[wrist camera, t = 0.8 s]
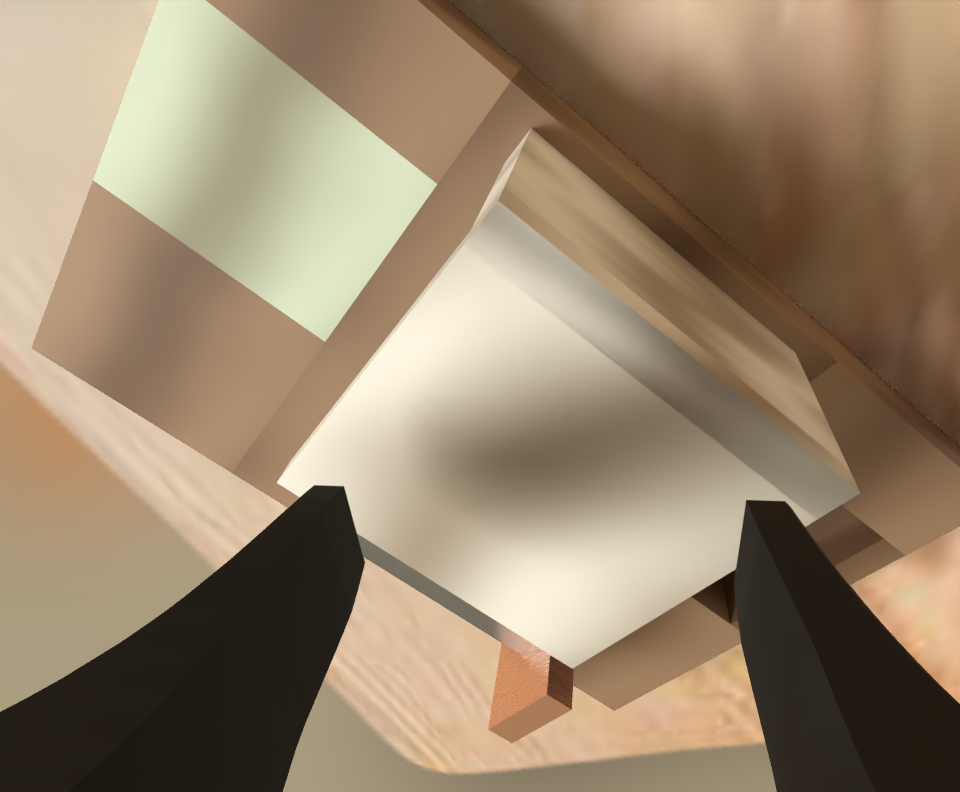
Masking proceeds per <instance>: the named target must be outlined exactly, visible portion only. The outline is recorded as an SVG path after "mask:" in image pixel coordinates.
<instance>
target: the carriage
mask: <svg viewBox="0 0 960 792" xmlns="http://www.w3.org/2000/svg"><path fill="white" fill-rule="evenodd" d="M357 536H358V539H359V543H360V547H361V550H362V554H363V557H365V558H366V559H368V560H369V561H371V562H373V563H374V564H376V565H378V566H379V567H381V568H382V569H384V570H386V571H387V572H389V573H390V574H392V575H394V576H395V577H397V578H398V579H400V580H402V581H403V582H405V583H406V584H408V585H410V586H411V587H413V588H415V589H416V590H418V591H419V592H421V593H423V594H424V595H426V596H427V597H429V598H431V599H432V600H434V601H435V602H437V603H439V604H440V605H442V606H443V607H445V608H447V609H448V610H450V611H452V612H453V613H455V614H456V615H458V616H460V617H461V618H463V619H464V620H466V621H468V622H469V623H471V624H472V625H474V626H476V627H477V628H479V629H481V630H482V631H484V632H485V633H487V634H489V635H490V636H492V637H493V638H495V639H497V640H498V641H500V642H501V643H502V646H501V652H500V658H499V665H498V671H497V677H496V684H495V690H494V696H493V703H492V709H491V715H490V722H489V728H488V729H489V730H490V731H492V732H494V733H495V734H497V735H499V736H501V737H502V738H504V739H506V740H508V741H509V742H511V743H513V742H515V741H517V740H519V739H520V738H522V737H524V736H526V735H527V734H529V733H531V732H533V731H535V730H536V729H538V728H540V727H542V726H543V725H545V724H547V723H549V722H551V721H552V720H554V719H556V718H558V717H559V716H561V715H563V714H565V713H567V712H568V711H570V710H572V693H573V674H574V668H573V669H572V668H570V667H569V666H567V665H565V664H564V663H562V662H561V661H559V660H557V659H556V658H554V657H553V656H551V655H550V654H548V653H546V652H545V651H543V650H542V649H540V648H538V647H537V646H535V645H534V644H532V643H530V642H529V641H527V640H526V639H524V638H523V637H521V636H519V635H518V634H516V633H515V632H513V631H511V630H510V629H508V628H507V627H505V626H503V625H502V624H500V623H499V622H497V621H496V620H494V619H492V618H491V617H489V616H488V615H486V614H484V613H483V612H481V611H480V610H478V609H476V608H475V607H473V606H472V605H470V604H468V603H467V602H465V601H464V600H462V599H461V598H459V597H457V596H456V595H454V594H453V593H451V592H449V591H448V590H446V589H445V588H443V587H441V586H440V585H438V584H437V583H435V582H434V581H432V580H430V579H429V578H427V577H426V576H424V575H422V574H421V573H419V572H418V571H416V570H414V569H413V568H411V567H410V566H408V565H406V564H405V563H403V562H402V561H400V560H399V559H397V558H395V557H394V556H392V555H391V554H389V553H387V552H386V551H384V550H383V549H381V548H379V547H378V546H376V545H375V544H373V543H372V542H370V541H368V540H367V539H365V538H364V537H362V536H360V535H359V534H357Z"/></svg>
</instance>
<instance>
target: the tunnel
mask: <svg viewBox="0 0 960 792" xmlns="http://www.w3.org/2000/svg"><path fill="white" fill-rule="evenodd" d="M32 349H34V350H35V351H37V352H38V353H40V354H42V355H43V356H45V357H46V358H48V359H50V360H51V361H53V362H55V363H56V364H58V365H59V366H61V367H63V368H64V369H66V370H67V371H69V372H71V373H72V374H74V375H75V376H77V377H79V378H80V379H82V380H83V381H85V382H87V383H88V384H90V385H91V386H93V387H95V388H96V389H98V390H100V391H101V392H103V393H104V394H106V395H108V396H109V397H111V398H112V399H114V400H116V401H117V402H119V403H120V404H122V405H124V406H125V407H127V408H128V409H130V410H132V411H133V412H135V413H136V414H138V415H140V416H141V417H143V418H145V419H146V420H148V421H149V422H151V423H153V424H154V425H156V426H157V427H159V428H161V429H162V430H164V431H165V432H167V433H169V434H170V435H172V436H173V437H175V438H177V439H178V440H180V441H181V442H183V443H185V444H186V445H188V446H190V447H191V448H193V449H194V450H196V451H198V452H199V453H201V454H202V455H204V456H206V457H207V458H209V459H210V460H212V461H214V462H215V463H217V464H218V465H220V466H222V467H223V468H225V469H226V470H228V471H230V472H231V473H233V474H235V475H236V476H238V477H239V478H241V479H243V480H244V481H246V482H247V483H249V484H251V485H252V486H254V487H255V488H257V489H259V490H260V491H262V492H263V493H265V494H267V495H268V496H270V497H271V498H273V499H275V500H276V501H278V502H280V503H281V504H283V505H284V506H286V507H288V508H289V507H290V506H291V505H292V504H293V503H294V502H295V501H296V500H298V499H299V498H300V497H301V496H302V495H303V494H304V493H305V492H307V491H308V490H309V489H310V488H311V487H313V486H314V485H325V486H344V488H345V492H346V495H347V499H348V503H349V506H350V510H351V514H352V517H353V521H354V525H355V528H356V532H357V534H359V535H360V536H362V537H364V538H365V539H367V540H368V541H370V542H372V543H373V544H375V545H376V546H378V547H379V548H381V549H383V550H384V551H386V552H387V553H389V554H391V555H392V556H394V557H395V558H397V559H399V560H400V561H402V562H403V563H405V564H406V565H408V566H410V567H411V568H413V569H414V570H416V571H418V572H419V573H421V574H422V575H424V576H426V577H427V578H429V579H430V580H432V581H434V582H435V583H437V584H438V585H440V586H441V587H443V588H445V589H446V590H448V591H449V592H451V593H453V594H454V595H456V596H457V597H459V598H461V599H462V600H464V601H465V602H467V603H468V604H470V605H472V606H473V607H475V608H476V609H478V610H480V611H481V612H483V613H484V614H486V615H488V616H489V617H491V618H492V619H494V620H496V621H497V622H499V623H500V624H502V625H503V626H505V627H507V628H508V629H510V630H511V631H513V632H515V633H516V634H518V635H519V636H521V637H523V638H524V639H526V640H527V641H529V642H530V643H532V644H534V645H535V646H537V647H538V648H540V649H542V650H543V651H545V652H546V653H548V654H550V655H551V656H553V657H554V658H556V659H557V660H559V661H561V662H562V663H564V664H565V665H567V666H569V667H570V668H572V669H573V668H574V674H573V685H574V686H575V687H577V688H578V689H580V690H582V691H583V692H585V693H586V694H588V695H590V696H591V697H593V698H595V699H596V700H598V701H599V702H601V703H603V704H604V705H606V706H607V707H609V708H611V709H612V710H614V711H615V710H616V709H618V708H620V707H622V706H624V705H626V704H628V703H630V702H631V701H633V700H635V699H637V698H639V697H641V696H643V695H645V694H646V693H648V692H650V691H652V690H654V689H656V688H658V687H659V686H661V685H663V684H665V683H667V682H669V681H671V680H673V679H674V678H676V677H678V676H680V675H682V674H684V673H686V672H688V671H689V670H691V669H693V668H695V667H697V666H699V665H701V664H703V663H704V662H706V661H708V660H710V659H712V658H714V657H716V656H718V655H719V654H721V653H723V652H725V651H727V650H729V649H731V648H733V647H734V646H736V645H738V644H740V643H741V639H740V631H739V624H738V616H737V608H736V599H735V590H734V579H735V572H736V566H737V559H738V552H739V545H740V539H741V532H742V525H743V518H744V512H745V505H746V500H764V501H785V502H786V503H787V504H788V505H789V506H790V507H791V508H792V509H793V511H794V512H795V514H796V515H797V516H798V518H799V519H800V521H801V522H802V523H803V525H804V526H805V528H806V529H807V530H808V532H809V533H810V535H811V536H812V537H813V539H814V540H815V541H816V543H817V544H818V545H819V547H820V548H821V549H822V551H823V552H824V553H825V555H826V556H827V557H828V559H829V560H830V561H831V563H832V564H833V565H834V566H835V568H836V569H837V570H838V571H839V573H840V574H841V575H842V576H843V578H844V579H845V580H846V581H847V583H848V584H849V585H851V584H853V583H854V582H856V581H858V580H860V579H862V578H864V577H866V576H868V575H869V574H871V573H873V572H875V571H877V570H879V569H881V568H882V567H884V566H886V565H888V564H890V563H892V562H894V561H896V560H897V559H899V558H901V557H903V556H905V555H907V554H909V553H911V552H912V551H914V550H916V549H918V548H920V547H922V546H924V545H926V544H927V543H929V542H931V541H933V540H935V539H937V538H939V537H941V536H942V535H944V534H946V533H948V532H950V531H952V530H954V529H956V528H957V527H959V526H960V447H959V446H958V445H957V444H956V443H954V442H953V441H952V440H951V439H950V438H949V437H948V436H946V435H945V434H944V433H943V432H942V431H941V430H939V429H938V428H937V427H936V426H935V425H934V424H933V423H931V422H930V421H929V420H928V419H927V418H926V417H925V416H923V415H922V414H921V413H920V412H919V411H918V410H917V409H915V408H914V407H913V406H912V405H911V404H910V403H909V402H907V401H906V400H905V399H904V398H903V397H902V396H901V395H899V394H898V393H897V392H896V391H895V390H894V389H893V388H891V387H890V386H889V385H888V384H887V383H886V382H885V381H883V380H882V379H881V378H880V377H879V376H878V375H876V374H875V373H874V372H873V371H872V370H871V369H870V368H868V367H867V366H866V365H865V364H864V363H863V362H862V361H860V360H859V359H858V358H857V357H856V356H855V355H854V354H852V353H851V352H850V351H849V350H848V349H847V348H846V347H844V346H843V345H842V344H841V343H840V342H839V341H838V340H836V339H835V338H834V337H833V336H832V335H831V334H830V333H828V332H827V331H826V330H825V329H824V328H823V327H822V326H820V325H819V324H818V323H817V322H816V321H815V320H813V319H812V318H811V317H810V316H809V315H808V314H807V313H805V312H804V311H803V310H802V309H801V308H800V307H799V306H797V305H796V304H795V303H794V302H793V301H792V300H791V299H789V298H788V297H787V296H786V295H785V294H784V293H783V292H781V291H780V290H779V289H778V288H777V287H776V286H775V285H773V284H772V283H771V282H770V281H769V280H768V279H767V278H765V277H764V276H763V275H762V274H761V273H760V272H759V271H757V270H756V269H755V268H754V267H753V266H752V265H750V264H749V263H748V262H747V261H746V260H745V259H744V258H742V257H741V256H740V255H739V254H738V253H737V252H736V251H734V250H733V249H732V248H731V247H730V246H729V245H728V244H726V243H725V242H724V241H723V240H722V239H721V238H720V237H718V236H717V235H716V234H715V233H714V232H713V231H712V230H710V229H709V228H708V227H707V226H706V225H705V224H704V223H702V222H701V221H700V220H699V219H698V218H697V217H696V216H694V215H693V214H692V213H691V212H690V211H689V210H688V209H686V208H685V207H684V206H683V205H682V204H681V203H679V202H678V201H677V200H676V199H675V198H674V197H673V196H671V195H670V194H669V193H668V192H667V191H666V190H665V189H663V188H662V187H661V186H660V185H659V184H658V183H657V182H655V181H654V180H653V179H652V178H651V177H650V176H649V175H647V174H646V173H645V172H644V171H643V170H642V169H641V168H639V167H638V166H637V165H636V164H635V163H634V162H633V161H631V160H630V159H629V158H628V157H627V156H626V155H625V154H623V153H622V152H621V151H620V150H619V149H618V148H616V147H615V146H614V145H613V144H612V143H611V142H610V141H608V140H607V139H606V138H605V137H604V136H603V135H602V134H600V133H599V132H598V131H597V130H596V129H595V128H594V127H592V126H591V125H590V124H589V123H588V122H587V121H586V120H584V119H583V118H582V117H581V116H580V115H579V114H578V113H576V112H575V111H574V110H573V109H572V108H571V107H570V106H568V105H567V104H566V103H565V102H564V101H563V100H562V99H560V98H559V97H558V96H557V95H556V94H555V93H553V92H552V91H551V90H550V89H549V88H548V87H547V86H545V85H544V84H543V83H542V82H541V81H540V80H539V79H537V78H536V77H535V76H534V75H533V74H532V73H531V72H529V71H528V70H527V69H526V68H525V67H524V66H523V65H521V64H520V63H519V62H518V61H517V60H516V59H515V58H513V57H512V56H511V55H510V54H509V53H508V52H507V51H505V50H504V49H503V48H502V47H501V46H500V45H499V44H497V43H496V42H495V41H494V40H493V39H492V38H491V37H489V36H488V35H487V34H486V33H485V32H484V31H482V30H481V29H480V28H479V27H478V26H477V25H476V24H474V23H473V22H472V21H471V20H470V19H469V18H468V17H466V16H465V15H464V14H463V13H462V12H461V11H460V10H458V9H457V8H456V7H455V6H454V5H453V4H452V3H450V2H449V1H448V0H159V2H158V4H157V7H156V10H155V12H154V15H153V18H152V21H151V23H150V26H149V29H148V32H147V34H146V37H145V40H144V42H143V45H142V48H141V51H140V53H139V56H138V59H137V62H136V64H135V67H134V70H133V73H132V75H131V78H130V81H129V83H128V86H127V89H126V92H125V94H124V97H123V100H122V103H121V105H120V108H119V111H118V114H117V116H116V119H115V122H114V124H113V127H112V130H111V133H110V135H109V138H108V141H107V144H106V146H105V149H104V152H103V154H102V157H101V160H100V163H99V165H98V168H97V171H96V174H95V176H94V179H93V182H92V185H91V187H90V190H89V193H88V195H87V198H86V201H85V204H84V206H83V209H82V212H81V215H80V217H79V220H78V223H77V226H76V228H75V231H74V234H73V236H72V239H71V242H70V245H69V247H68V250H67V253H66V256H65V258H64V261H63V264H62V266H61V269H60V272H59V275H58V277H57V280H56V283H55V286H54V288H53V291H52V294H51V297H50V299H49V302H48V305H47V307H46V310H45V313H44V316H43V318H42V321H41V324H40V327H39V329H38V332H37V335H36V338H35V340H34V343H33V346H32Z"/></svg>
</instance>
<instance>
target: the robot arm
mask: <svg viewBox="0 0 960 792" xmlns="http://www.w3.org/2000/svg"><path fill="white" fill-rule="evenodd" d="M364 564H365V561H364V558H363V554H362V550H361V547H360V543H359V539H358V536H357V532H356V528H355V525H354V521H353V517H352V514H351V510H350V506H349V503H348V499H347V495H346V492H345V488H344V486H325V485H314V486H313V487H311V488H310V489H309V490H308V491H307V492H305V493H304V494H303V495H302V496H301V497H300V498H299V499H298V500H296V501H295V502H294V503H293V504H292V505H291V506H290V507H289V508H288V509H286V510H285V511H284V512H283V513H282V514H281V515H280V516H279V517H278V518H277V519H275V520H274V521H273V522H272V523H271V524H270V525H269V526H268V527H267V528H266V529H264V530H263V531H262V532H261V533H260V534H259V535H258V536H256V537H255V538H254V539H253V540H252V541H251V542H250V543H249V544H247V545H246V546H245V547H244V548H243V549H242V550H241V551H239V552H238V553H237V554H236V555H235V556H234V557H233V558H232V559H230V560H229V561H228V562H227V563H226V564H224V565H223V566H222V567H221V568H219V569H218V570H217V571H216V572H214V573H213V574H212V575H211V576H210V577H208V578H207V579H206V580H205V581H203V582H202V583H201V584H200V585H198V586H197V587H196V588H195V589H194V590H192V591H191V592H190V593H189V594H187V595H186V596H185V597H184V598H182V599H181V600H180V601H178V602H177V603H176V604H174V605H173V606H172V607H171V608H169V609H168V610H167V611H165V612H164V613H162V614H161V615H160V616H158V617H157V618H155V619H154V620H153V621H151V622H150V623H148V624H147V625H145V626H144V627H142V628H141V629H140V630H138V631H137V632H135V633H134V634H132V635H131V636H129V637H128V638H127V639H125V640H123V641H122V642H121V643H119V644H117V645H116V646H114V647H112V648H111V649H109V650H108V651H106V652H104V653H103V654H101V655H100V656H98V657H96V658H95V659H93V660H91V661H90V662H88V663H86V664H85V665H83V666H82V667H80V668H78V669H77V670H75V671H74V672H72V673H70V674H69V675H67V676H65V677H64V678H62V679H60V680H58V681H57V682H55V683H53V684H51V685H50V686H48V687H46V688H44V689H42V690H41V691H39V692H37V693H35V694H33V695H32V696H30V697H28V698H26V699H24V700H22V701H20V702H19V703H17V704H15V705H13V706H11V707H9V708H7V709H5V710H3V711H1V712H0V792H283V789H284V786H285V782H286V779H287V776H288V773H289V769H290V766H291V763H292V760H293V757H294V753H295V750H296V747H297V744H298V742H299V739H300V736H301V733H302V731H303V728H304V725H305V723H306V720H307V718H308V716H309V713H310V711H311V709H312V706H313V704H314V701H315V699H316V697H317V694H318V692H319V689H320V687H321V685H322V682H323V680H324V678H325V675H326V673H327V671H328V668H329V666H330V663H331V661H332V659H333V656H334V654H335V652H336V649H337V647H338V644H339V642H340V639H341V637H342V635H343V632H344V630H345V627H346V625H347V622H348V620H349V617H350V615H351V612H352V609H353V605H354V602H355V598H356V595H357V591H358V588H359V584H360V580H361V576H362V572H363V568H364ZM734 590H735V599H736V608H737V616H738V624H739V631H740V639H741V644H742V648H743V652H744V657H745V661H746V665H747V669H748V673H749V677H750V681H751V686H752V690H753V694H754V698H755V702H756V706H757V710H758V714H759V718H760V722H761V726H762V730H763V734H764V738H765V742H766V746H767V750H768V754H769V758H770V762H771V766H772V771H773V775H774V780H775V785H776V790H777V792H960V704H959V703H958V702H957V701H956V700H955V699H954V698H953V697H952V696H951V695H950V694H949V693H948V692H947V691H946V690H945V689H944V688H942V687H941V686H940V685H939V684H938V683H937V682H936V681H935V680H934V679H933V678H932V676H931V675H930V674H929V673H928V672H927V671H926V670H925V669H924V668H923V667H922V666H921V665H920V664H919V663H918V662H917V661H916V660H915V659H914V658H913V657H912V656H911V655H910V654H909V653H908V652H907V650H906V649H905V648H904V647H903V646H902V645H901V644H900V643H899V642H898V641H897V640H896V638H895V637H894V636H893V635H892V634H891V633H890V632H889V631H888V630H887V629H886V627H885V626H884V625H883V624H882V623H881V622H880V621H879V619H878V618H877V617H876V616H875V615H874V614H873V613H872V612H871V610H870V609H869V608H868V607H867V606H866V604H865V603H864V602H863V601H862V599H861V598H860V597H859V596H858V595H857V593H856V592H855V591H854V590H853V589H852V587H851V586H850V585H849V584H848V583H847V581H846V580H845V579H844V578H843V576H842V575H841V574H840V573H839V571H838V570H837V569H836V568H835V566H834V565H833V564H832V563H831V561H830V560H829V559H828V557H827V556H826V555H825V553H824V552H823V551H822V549H821V548H820V547H819V545H818V544H817V543H816V541H815V540H814V539H813V537H812V536H811V535H810V533H809V532H808V530H807V529H806V528H805V526H804V525H803V523H802V522H801V521H800V519H799V518H798V516H797V515H796V514H795V512H794V511H793V509H792V508H791V507H790V506H789V505H788V504H787V503H786V502H785V501H764V500H746V505H745V512H744V518H743V525H742V532H741V539H740V545H739V552H738V559H737V566H736V572H735V579H734Z"/></svg>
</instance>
